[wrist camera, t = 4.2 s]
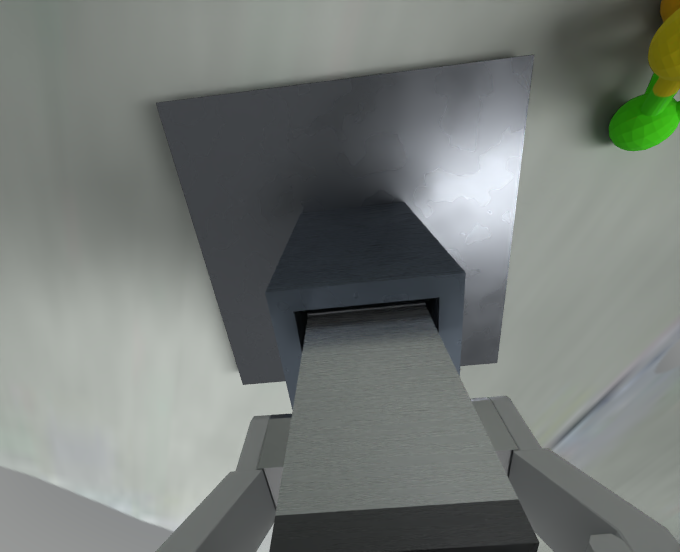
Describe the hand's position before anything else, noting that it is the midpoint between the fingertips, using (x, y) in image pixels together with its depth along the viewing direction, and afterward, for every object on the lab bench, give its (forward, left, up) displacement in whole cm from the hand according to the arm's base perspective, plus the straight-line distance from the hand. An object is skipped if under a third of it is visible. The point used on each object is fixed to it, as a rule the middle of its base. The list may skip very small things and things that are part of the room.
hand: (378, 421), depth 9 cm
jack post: (0, 0, -13) cm, 13 cm away
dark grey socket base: (0, 0, -15) cm, 15 cm away
